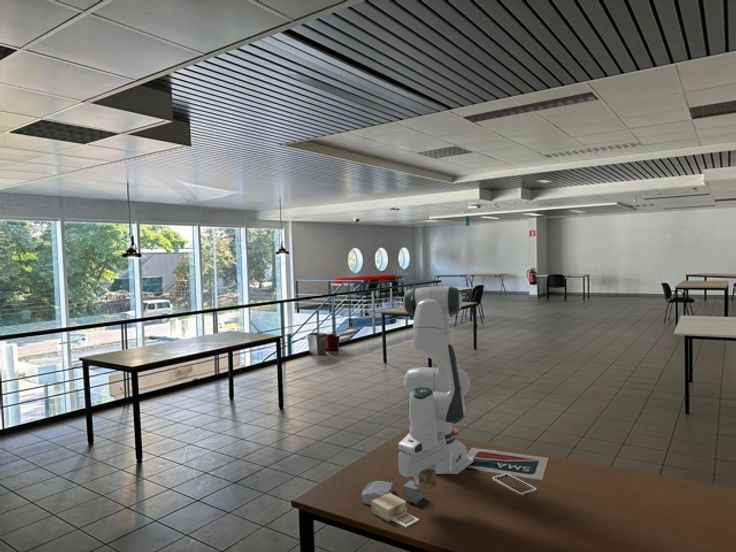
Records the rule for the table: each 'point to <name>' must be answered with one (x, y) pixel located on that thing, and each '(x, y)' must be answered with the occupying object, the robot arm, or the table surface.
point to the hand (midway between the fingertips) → (424, 480)
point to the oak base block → (389, 506)
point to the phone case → (509, 486)
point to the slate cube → (412, 492)
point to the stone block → (376, 491)
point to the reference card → (405, 519)
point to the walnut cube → (427, 479)
